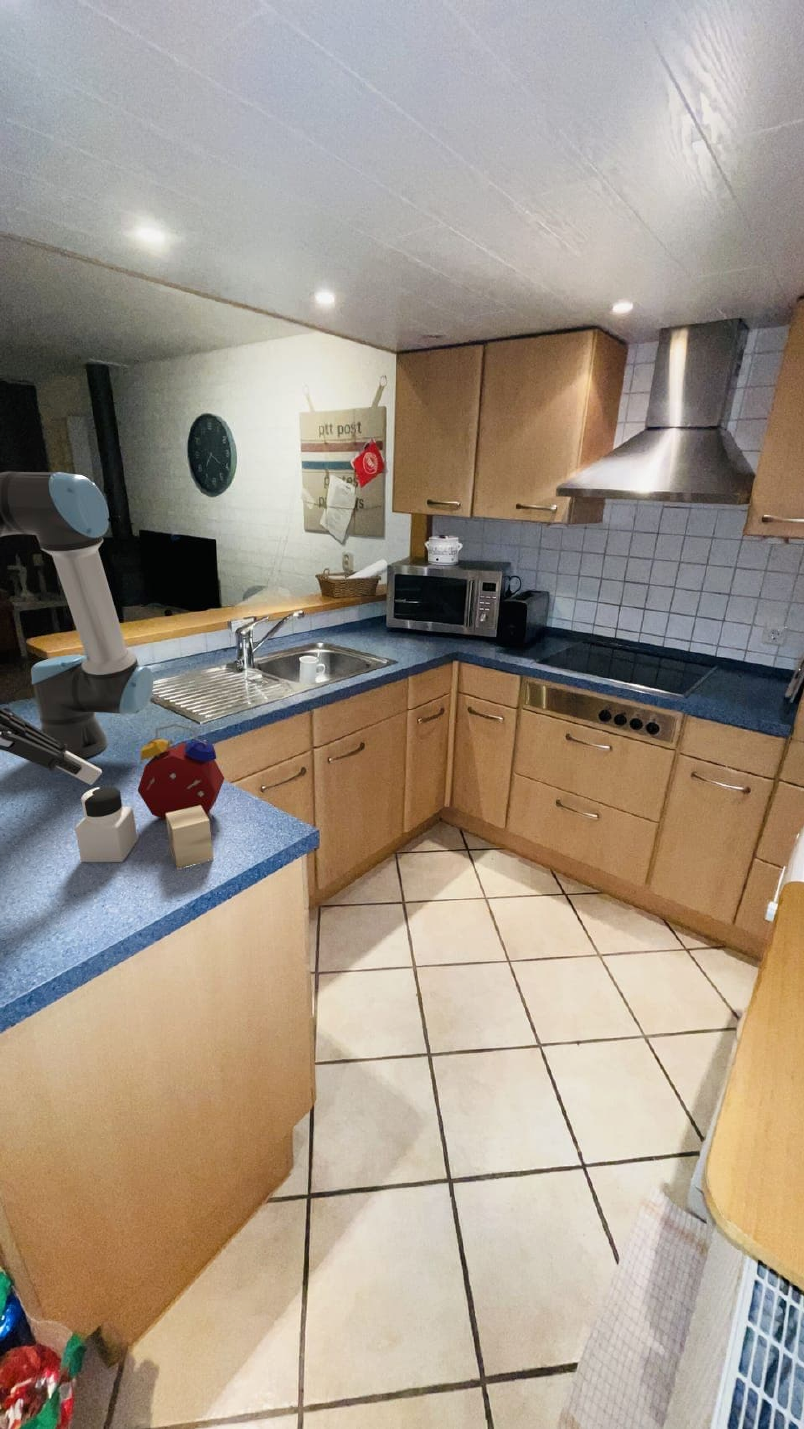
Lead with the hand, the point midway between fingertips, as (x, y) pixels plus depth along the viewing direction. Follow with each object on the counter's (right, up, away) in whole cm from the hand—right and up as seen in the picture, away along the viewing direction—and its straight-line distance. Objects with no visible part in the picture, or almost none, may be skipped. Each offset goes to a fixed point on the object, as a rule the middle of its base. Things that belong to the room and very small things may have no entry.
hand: (96, 777), depth 99 cm
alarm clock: (+9, -10, +16) cm, 21 cm away
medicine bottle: (0, -14, +5) cm, 15 cm away
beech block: (+15, -15, +4) cm, 21 cm away
